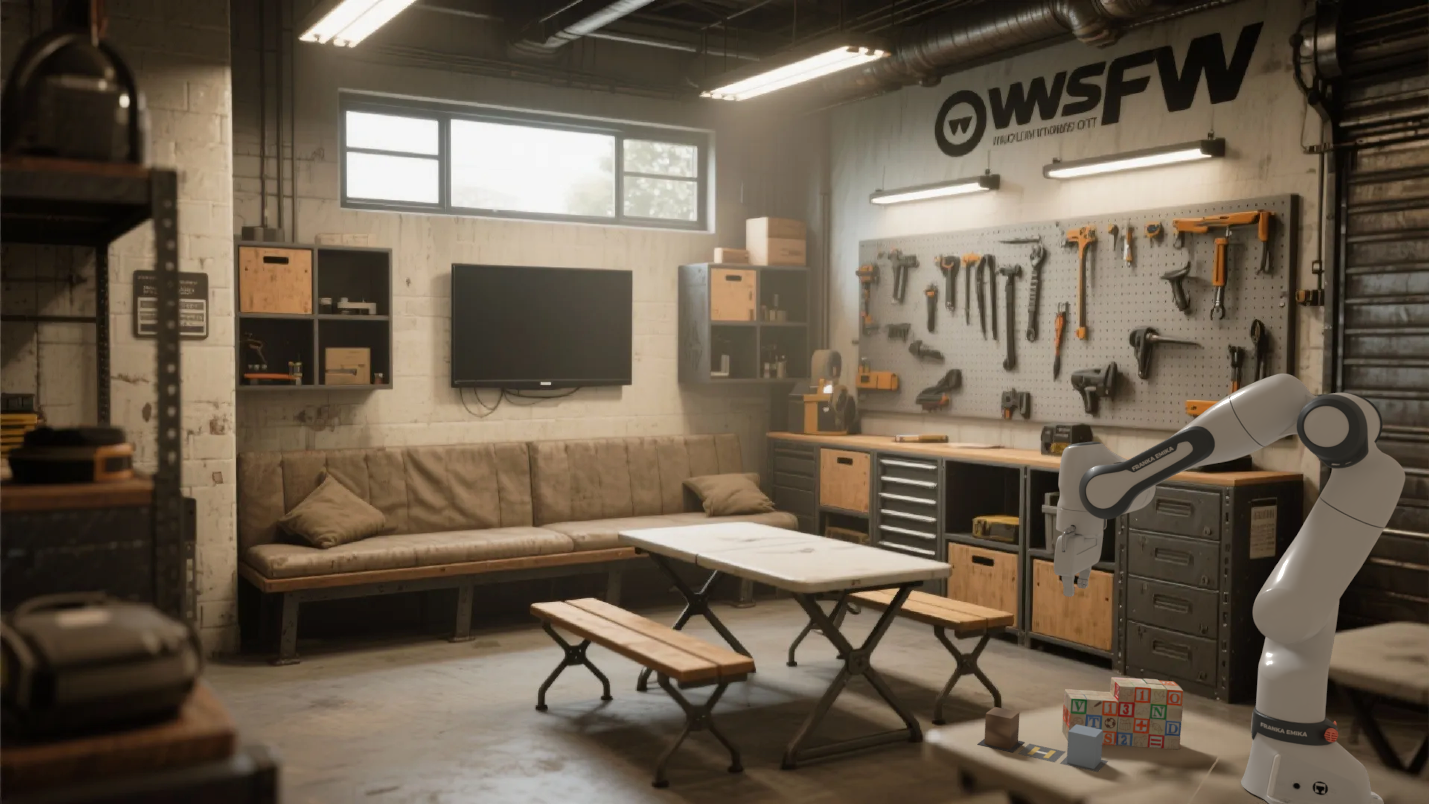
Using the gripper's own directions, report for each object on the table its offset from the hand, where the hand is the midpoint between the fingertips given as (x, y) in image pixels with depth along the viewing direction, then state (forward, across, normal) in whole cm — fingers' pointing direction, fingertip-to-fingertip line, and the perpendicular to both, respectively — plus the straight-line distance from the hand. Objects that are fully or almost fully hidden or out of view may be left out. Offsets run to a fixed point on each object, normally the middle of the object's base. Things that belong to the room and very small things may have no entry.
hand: (1075, 591), depth 234 cm
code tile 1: (+29, -14, +1) cm, 32 cm away
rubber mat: (+29, -14, +9) cm, 33 cm away
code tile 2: (+29, -14, -7) cm, 33 cm away
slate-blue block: (+29, -14, -7) cm, 33 cm away
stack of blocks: (+30, +3, -9) cm, 31 cm away
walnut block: (+29, -14, +9) cm, 33 cm away
